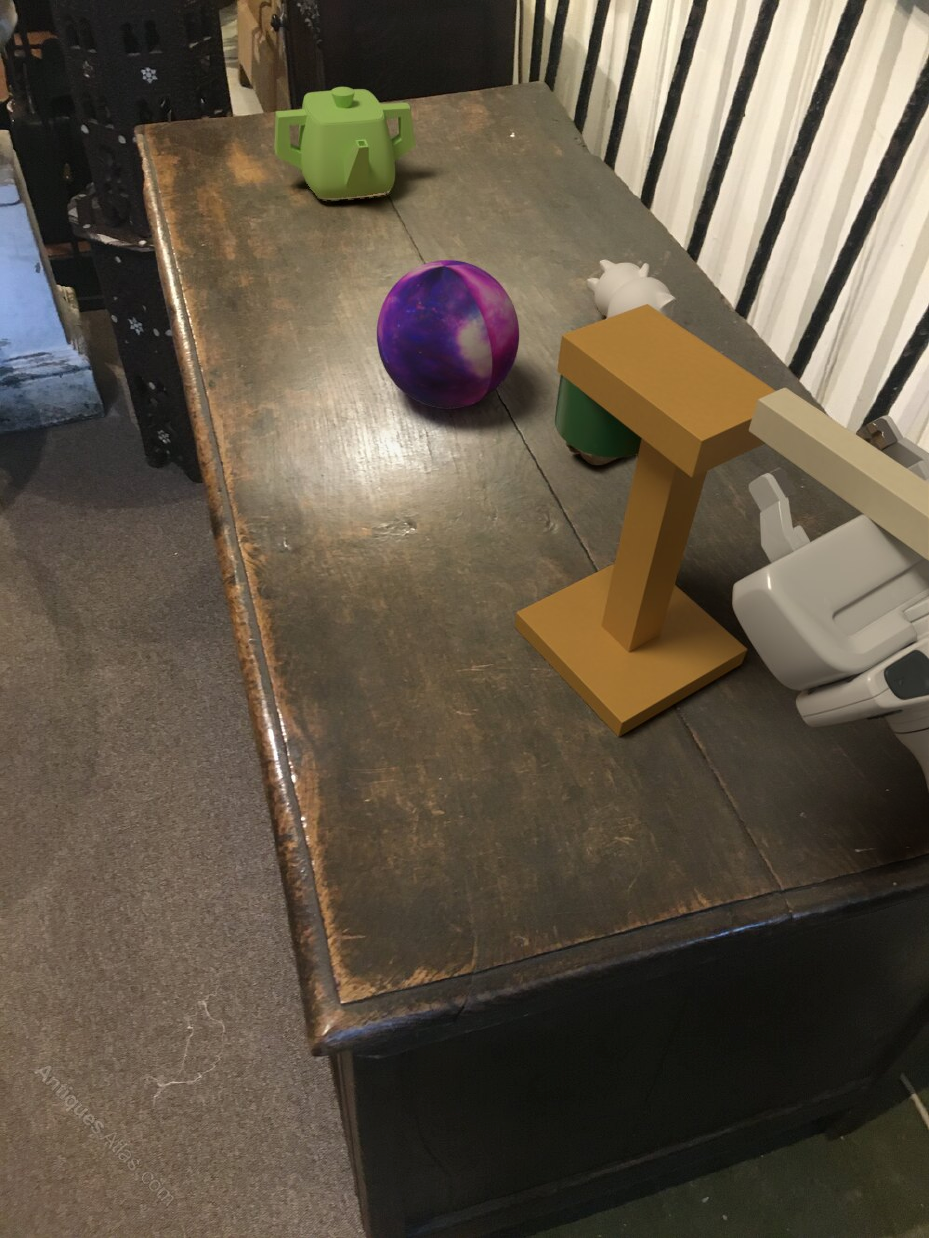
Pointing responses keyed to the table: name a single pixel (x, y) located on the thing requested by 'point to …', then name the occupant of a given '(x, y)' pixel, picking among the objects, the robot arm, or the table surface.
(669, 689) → the desk lamp
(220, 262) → the table surface
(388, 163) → the teapot
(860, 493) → the switch rod
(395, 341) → the decorative orb
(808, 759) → the table surface
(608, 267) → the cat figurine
